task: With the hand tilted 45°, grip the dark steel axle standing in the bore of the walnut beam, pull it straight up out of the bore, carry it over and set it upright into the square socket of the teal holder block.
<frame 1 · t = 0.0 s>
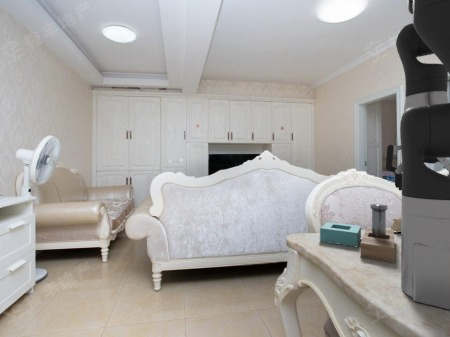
hand: (424, 191, 54), 17 cm above the table, tool pointing down, fingers open, 8 cm apart
beam: (378, 248, 68), on the table
holder: (340, 239, 76), on the table
axle: (378, 226, 68), in the beam
decorative ornament: (398, 233, 86), on the table
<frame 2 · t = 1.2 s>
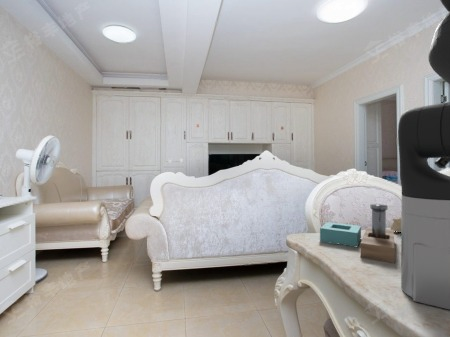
hand: (425, 165, 68), 23 cm above the table, tool tilted 45°, fingers open, 8 cm apart
nothing on the table moved.
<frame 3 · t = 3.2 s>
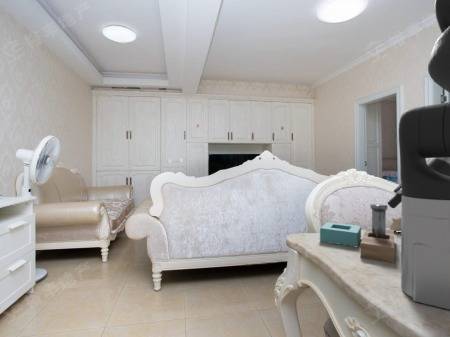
hand: (399, 208, 68), 11 cm above the table, tool tilted 45°, fingers open, 8 cm apart
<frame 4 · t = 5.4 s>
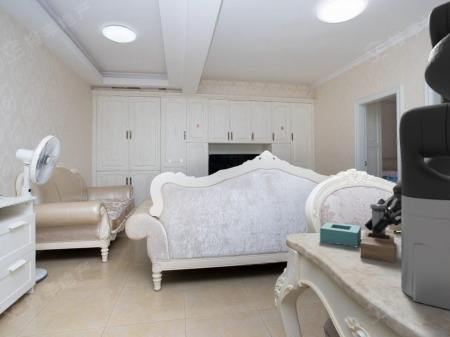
hand: (371, 229, 68), 5 cm above the table, tool tilted 45°, fingers closed on axle, 3 cm apart
axle: (378, 226, 68), in the beam, touching gripper
everything else where it was.
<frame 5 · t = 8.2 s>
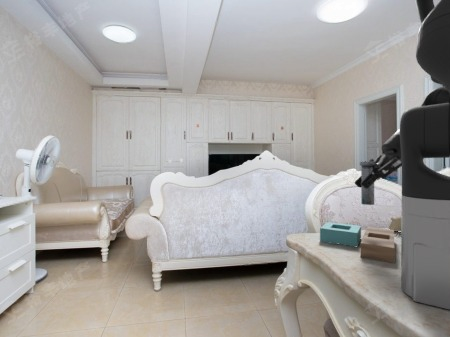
hand: (360, 185, 71), 17 cm above the table, tool tilted 45°, fingers closed on axle, 3 cm apart
axle: (367, 182, 71), point 18 cm above the table, touching gripper
when the fingers open (7 cm above the table, at t = 11.0 s): axle drops 1 cm, resting in holder.
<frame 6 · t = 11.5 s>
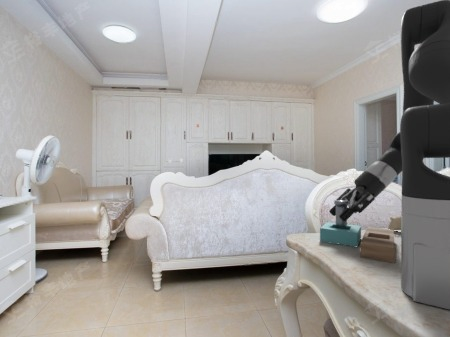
hand: (336, 216, 77), 7 cm above the table, tool tilted 45°, fingers open, 7 cm apart
axle: (341, 220, 76), in the holder
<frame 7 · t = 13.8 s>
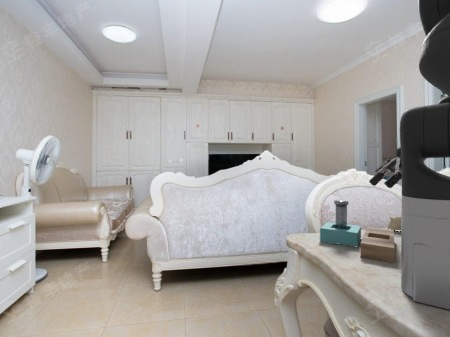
hand: (378, 184, 76), 17 cm above the table, tool tilted 45°, fingers open, 8 cm apart
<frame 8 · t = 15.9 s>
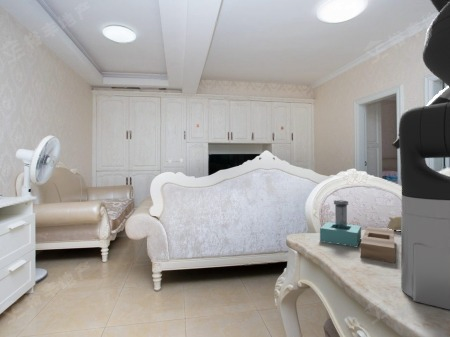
hand: (403, 145, 73), 29 cm above the table, tool tilted 45°, fingers open, 8 cm apart
at the end: axle 0.1 cm off-centre on the holder, point 6.0 cm above the holder's base; axle tilted 1°; the gripper is holding nothing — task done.
